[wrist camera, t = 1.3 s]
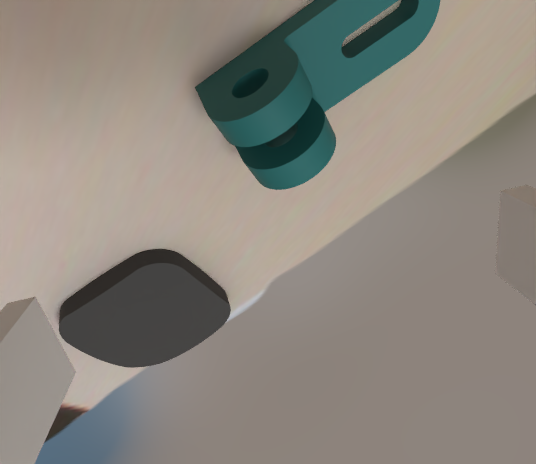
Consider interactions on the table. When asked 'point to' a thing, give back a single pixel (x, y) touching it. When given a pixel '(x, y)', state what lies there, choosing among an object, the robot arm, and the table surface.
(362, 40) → the bracket
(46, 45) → the table surface
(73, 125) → the table surface
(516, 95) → the table surface
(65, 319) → the media streaming box
